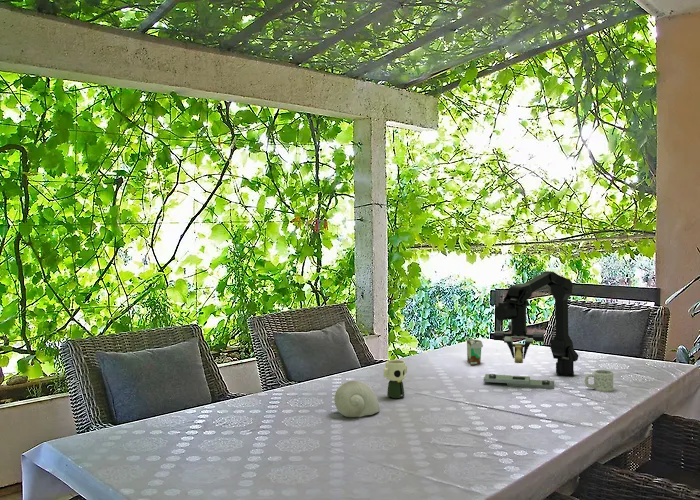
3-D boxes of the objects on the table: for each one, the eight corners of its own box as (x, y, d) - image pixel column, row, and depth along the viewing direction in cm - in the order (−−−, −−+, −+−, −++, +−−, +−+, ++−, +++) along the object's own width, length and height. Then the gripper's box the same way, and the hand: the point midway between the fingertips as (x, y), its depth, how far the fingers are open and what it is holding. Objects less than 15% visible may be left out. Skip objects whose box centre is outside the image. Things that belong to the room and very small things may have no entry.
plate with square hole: (554, 384, 254) (554, 375, 254) (553, 389, 247) (553, 380, 247) (486, 379, 263) (486, 372, 263) (483, 384, 255) (483, 376, 255)
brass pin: (525, 361, 256) (525, 343, 256) (524, 363, 252) (524, 345, 251) (513, 360, 257) (513, 343, 257) (512, 363, 253) (512, 345, 253)
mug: (610, 387, 248) (610, 370, 248) (615, 392, 242) (615, 374, 242) (582, 387, 249) (582, 369, 249) (587, 391, 243) (587, 373, 243)
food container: (485, 366, 287) (485, 343, 287) (471, 366, 288) (471, 343, 287) (480, 360, 300) (480, 338, 299) (466, 360, 300) (466, 338, 300)
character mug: (390, 401, 232) (390, 365, 232) (378, 397, 238) (377, 362, 237) (413, 396, 239) (413, 361, 238) (400, 392, 245) (400, 358, 244)
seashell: (335, 435, 218) (335, 406, 209) (332, 401, 229) (332, 372, 220) (381, 432, 220) (383, 403, 210) (375, 398, 231) (377, 370, 221)
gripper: (544, 316, 259) (544, 355, 259) (496, 314, 264) (496, 353, 265) (543, 320, 248) (543, 361, 249) (493, 318, 254) (493, 358, 254)
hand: (518, 358), depth 254 cm, fingers closed on brass pin, 3 cm apart
